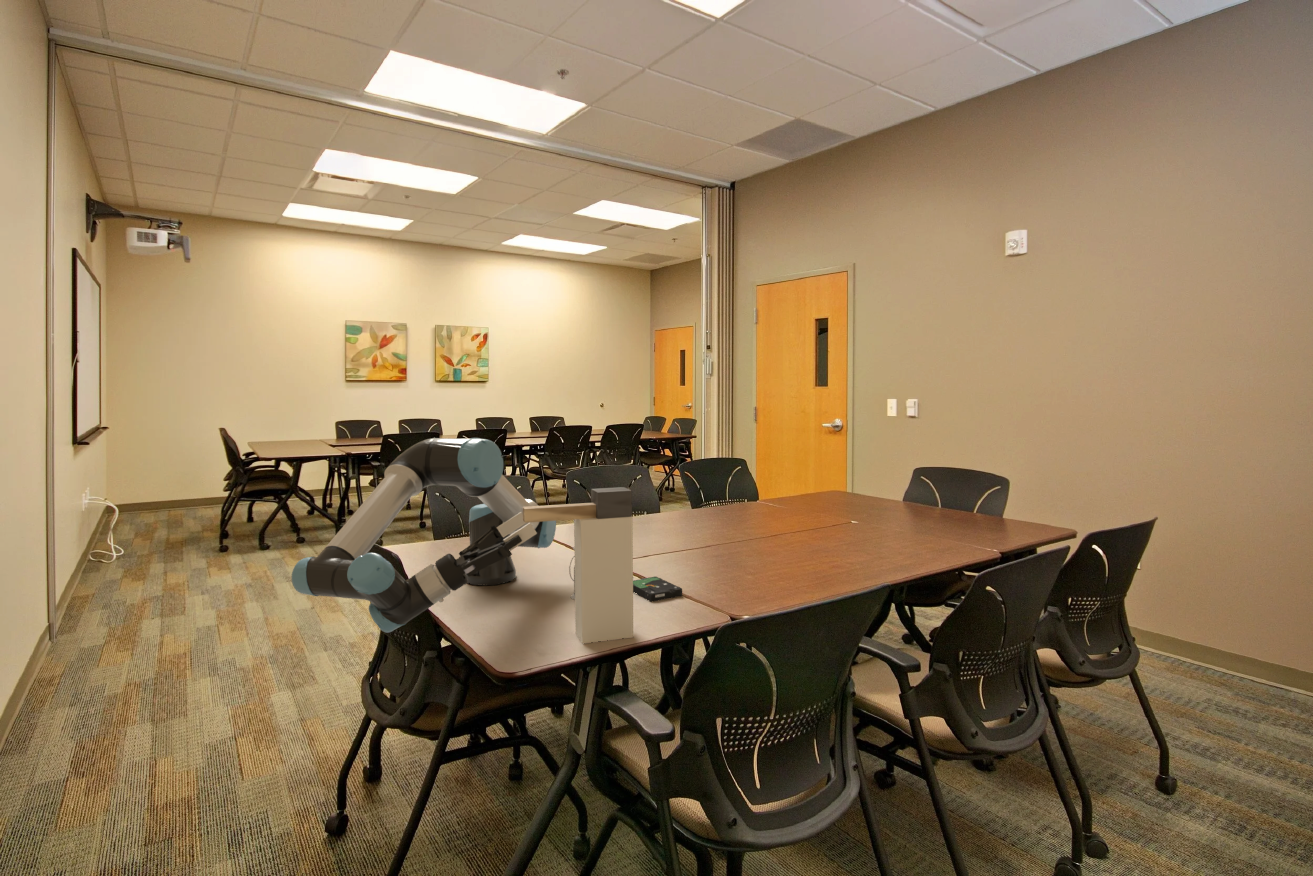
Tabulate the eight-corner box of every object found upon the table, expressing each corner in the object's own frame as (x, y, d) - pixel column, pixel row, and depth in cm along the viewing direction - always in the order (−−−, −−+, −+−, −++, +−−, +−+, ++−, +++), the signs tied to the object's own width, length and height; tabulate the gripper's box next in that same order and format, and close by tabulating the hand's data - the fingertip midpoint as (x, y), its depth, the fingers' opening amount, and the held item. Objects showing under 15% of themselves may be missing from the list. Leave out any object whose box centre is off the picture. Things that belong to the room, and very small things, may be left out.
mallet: (522, 519, 153) (521, 492, 153) (624, 512, 161) (624, 487, 161) (526, 523, 148) (525, 496, 147) (631, 516, 156) (631, 490, 155)
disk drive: (683, 598, 189) (655, 584, 202) (683, 588, 189) (656, 575, 201) (650, 604, 184) (625, 590, 196) (650, 594, 183) (625, 580, 196)
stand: (575, 633, 160) (573, 515, 158) (624, 627, 164) (623, 512, 162) (582, 643, 153) (580, 520, 151) (633, 637, 157) (632, 517, 155)
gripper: (450, 576, 158) (529, 525, 163) (455, 609, 134) (547, 548, 140) (432, 550, 156) (512, 499, 161) (434, 578, 133) (528, 518, 138)
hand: (529, 521), depth 151 cm, fingers open, 13 cm apart
